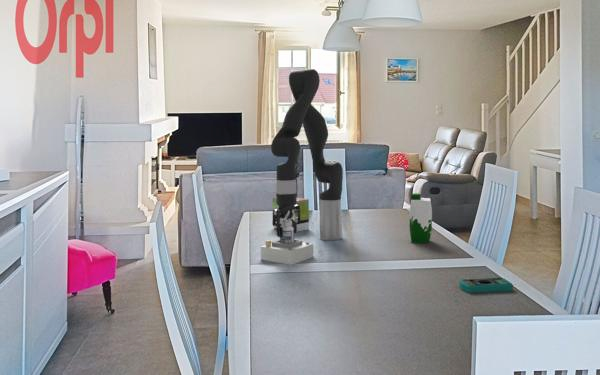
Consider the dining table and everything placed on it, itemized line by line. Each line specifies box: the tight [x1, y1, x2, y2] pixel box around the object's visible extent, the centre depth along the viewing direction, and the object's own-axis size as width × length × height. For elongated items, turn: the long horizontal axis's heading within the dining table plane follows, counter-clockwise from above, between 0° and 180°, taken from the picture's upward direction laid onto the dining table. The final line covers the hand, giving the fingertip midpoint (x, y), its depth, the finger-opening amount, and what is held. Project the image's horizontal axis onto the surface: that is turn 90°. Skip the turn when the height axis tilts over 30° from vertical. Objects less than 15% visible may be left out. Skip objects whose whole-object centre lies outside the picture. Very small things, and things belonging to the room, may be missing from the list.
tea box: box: [272, 197, 310, 233], centre depth 274 cm, size 15×10×15 cm, turn 43°
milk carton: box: [409, 193, 433, 245], centre depth 243 cm, size 9×9×20 cm
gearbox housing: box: [260, 238, 314, 266], centre depth 218 cm, size 14×14×7 cm
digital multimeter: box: [458, 276, 514, 294], centre depth 178 cm, size 7×15×3 cm, turn 97°
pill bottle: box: [279, 220, 295, 244], centre depth 218 cm, size 5×5×9 cm
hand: (287, 234), depth 218 cm, fingers open, 8 cm apart
